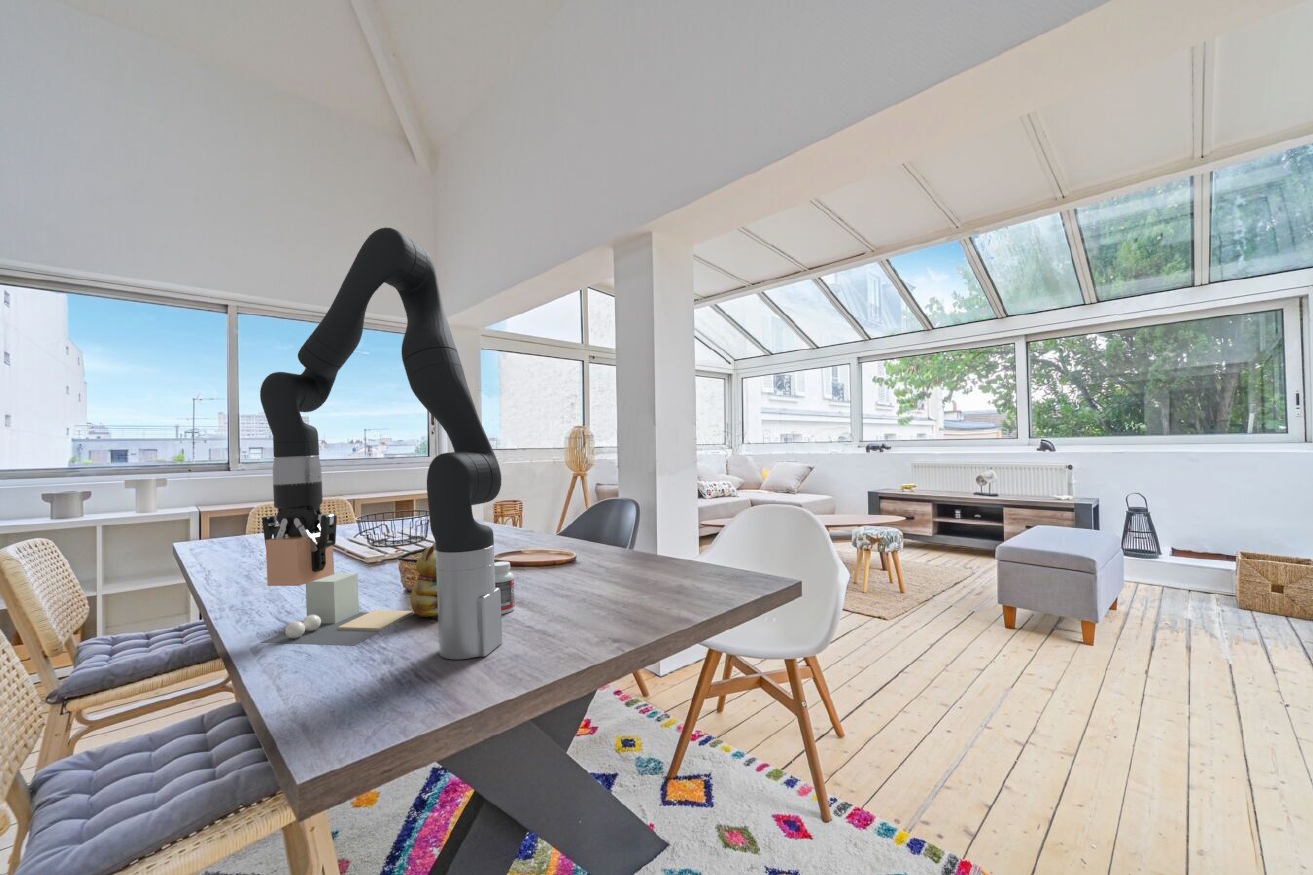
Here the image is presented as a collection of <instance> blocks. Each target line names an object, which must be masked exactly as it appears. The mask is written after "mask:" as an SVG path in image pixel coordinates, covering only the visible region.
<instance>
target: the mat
mask: <svg viewBox="0 0 1313 875" xmlns="http://www.w3.org/2000/svg"><path fill="white" fill-rule="evenodd" d="M413 615H416V614H415V613H414V611H413V610H392V609H391V610H387V609H385V610H384V609H383V610H381V609H373V610H371V611H369V612H361V611H359V613H358V614H355V615H353V616H351V617H349V618H347V619H344V620H342V621H340V622H338V623H321V625H320V626H319V628H318V629H316V630H314V631H306V630H305V632H304V633H303V635H302V636H300V637H299V638H296V639H291V638H289V637H287V636H286V633H285V631H284V632H282V633H280V634H277V635H275V636H272V637H270V638H268V639H265V640H263V641H260V643H261V644H262V643H266V644H290V645H291V644H292V645H293V644H295V645H321V646H348V647H349V646H351V647H352V646H353V647H355V646H357V645H358V644H361V643H362V642H364V641H367V640H368V639H370V638H372V637H374V636H375V635H378V634H379V633H381V632H384V631H386V629H387V630H388V629H389V628H391V627H392V626H395V625H396V624H398V623H400V622H402V621H404V620H405V619H407V618H409V617H411V616H413Z"/></svg>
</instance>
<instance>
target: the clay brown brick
mask: <svg viewBox="0 0 1313 875" xmlns="http://www.w3.org/2000/svg"><path fill="white" fill-rule="evenodd" d="M312 534H315V533H314V532H313V533H312ZM315 540H316V542H317V544H318V543H319V538H315ZM265 552H266V553H265V554H266V555H265V557H266V558H265V559H266V579H267V580H266V581H267V587H285V586H286V587H298V586H299V587H301V586H302V585H306V583H309V582H312V581H315V580H318V579H321V578H324V577H327V576H330V575H333V574H334V573H335V564H334V562H335V561H334V545H332V546H330V547H327V548H326V550H325V554H326V565H325V567H324V569H323V570H321V571H318V572H313V571H312V558H311V552H313V551H312V550H311V545H310V540H309V539H308V537H302V536H292V537H288V536H285V537H280V538H274V537H272V539H268V540H266V546H265Z"/></svg>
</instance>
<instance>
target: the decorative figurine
mask: <svg viewBox="0 0 1313 875" xmlns="http://www.w3.org/2000/svg"><path fill="white" fill-rule="evenodd" d="M436 568H437V567H436V544H435V543H434V544H433V545H430V546H428V547H426V548H425V549H424V550H423V551H422V554H421V555H420V556H419V557H418V558H417V560H416V562H415V569H416V572H417V573H418V575H417V581H416V582H415V584H414V585H413V586H412V587H413V588H412V590H411V594H410V605H411V609H412V611H414V613H415V614H414V615H417V616H420V618H432V619H433V620H438V599H437V571H436Z"/></svg>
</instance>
